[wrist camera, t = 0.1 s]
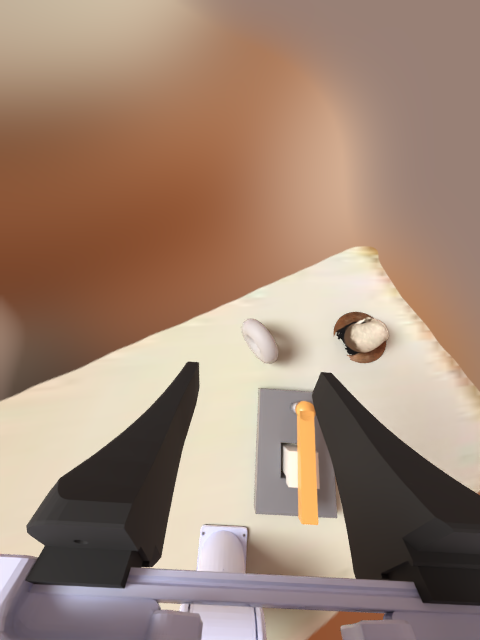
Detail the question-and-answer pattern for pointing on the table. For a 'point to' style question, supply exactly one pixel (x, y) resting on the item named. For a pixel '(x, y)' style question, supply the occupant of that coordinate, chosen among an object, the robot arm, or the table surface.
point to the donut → (260, 340)
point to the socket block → (272, 430)
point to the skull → (362, 336)
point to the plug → (293, 464)
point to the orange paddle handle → (306, 464)
